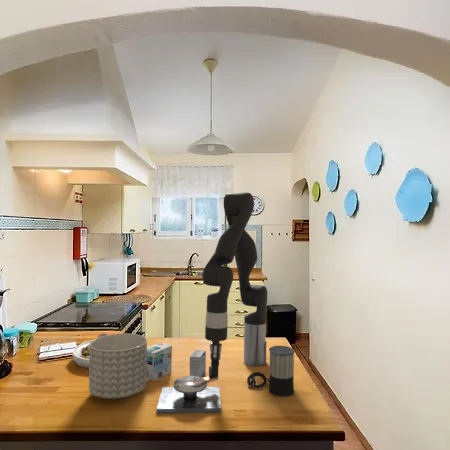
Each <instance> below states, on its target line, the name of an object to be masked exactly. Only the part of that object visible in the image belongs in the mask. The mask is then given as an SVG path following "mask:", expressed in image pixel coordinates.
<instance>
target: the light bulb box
mask: <svg viewBox="0 0 450 450" xmlns="http://www.w3.org/2000/svg"><path fill="white" fill-rule="evenodd" d="M172 354H173V347H172V345H170V344H167V343H163V342H159V343H158V342H157V343H156V344H154V345H150V346H147V380H149V381H152V382H155V381H157V380H159V379H160V378H163V377H165V376H167V375H169V374H171V373H172V365H173V364H172V362H173V360H172V359H173V358H172V357H173V355H172Z"/></svg>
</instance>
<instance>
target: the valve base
mask: <svg viewBox="0 0 450 450" xmlns="http://www.w3.org/2000/svg"><path fill="white" fill-rule="evenodd" d="M221 404H222V403H221V391H220V386H207V387H206V388H205V389H204V390H203V391H200V392H197V393H181V392H178V391H176V390H175V389H174V386H173V387H172V386H171V387H169V386H167V387H165V386H163V387H162V388H161V392H160V395H159V399H158V403H157V407H156V414H157V415H161V414H163V415H164V414H166V415H167V414H168V415H169V414H172V415H173V414H175V415H176V414H221V413H222V405H221Z"/></svg>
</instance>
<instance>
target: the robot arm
mask: <svg viewBox="0 0 450 450" xmlns="http://www.w3.org/2000/svg"><path fill="white" fill-rule="evenodd" d="M222 202H223V203H222V204H223V210H224V214H225V218H226V221H227V226H228V227H227V228H226V229H225V231H224V232H222V234H221V236H220V237H219V239H218V241H217V244H216V247H215V251H214V253H212V256H211V257H210V259H209V261H208V262H207V264H206V265H205V266H204V268H203V270H202V275H201V277H202V278H201V279H202V282H203V283H204V284H205V285H206V286H210V287H219V290H218V292H212V293H209V294H208V295H207V297H206V313H205V321H204V322H205V326H204V327H205V328H204V330H205V331H204V338H205V340H207V341H209V342H210V344H209V352H210V353H209V354H210V355H209V357H210V358H209V359H210V360H211V361H210V362H211V363H210V366H212V377H218V378H219V367H220V361H221V356H222V355H221V354H222V347H223V346H222V345H223V343H220V342H224V341H226V340H227V339H228V323H229V321H228V319H229V317H228V299H229V295H230V291H231V288H232V285H233V281H234V271H233V269H232V268H231V267H230V266H227V265H229V264H232V263H233V261H234V259H235V264H236V269H237V275H238V284H239V293H240V294H239V295H240V300H241V303H242V304H243V306H247V307H253V308H256V310H255V311H253V312H249V313H247V314H245V315H244V317H243V318H244V322H243V331H244V332H243V363H244V364H245V365H247V366H250V367H261V366H265V365H267V340H266V337H267V336H266V335H267V334H266V331H267V329H266V328H267V327H266V325H267V322H266V321H267V309H268V308H267V307H268V289H267V287H266V286H265V285H261V284H252V283H250V275H251V274H252V271H253V269H254V268H255V266H256V264H257V262H258V251H257V246H256V242H255V241H254V239H253V237H252V236H251V235H250V234H249V233H248V231H247V230H246V227H247V225H248V223H249V221H250V219H251V216H252V214H253V212H254V209H255V199H254V196H253V194H252V193H251V192H247V191H246V192H227V193H226V194H224V197H223V201H222Z"/></svg>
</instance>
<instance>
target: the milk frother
mask: <svg viewBox="0 0 450 450" xmlns="http://www.w3.org/2000/svg"><path fill="white" fill-rule="evenodd" d="M268 351H269V378H268V377H267V376H266V374H264V373H262V372H260V371H255V372H253V373H251V374H250V375H248V376H247V378H246V379H247V380H246V383H247V385H248V386H249V387H250V388H252V389H262V388H265V387H266V386H267V382H268V383H269V384H268V387H267V390H268V392H269V393H270V394H271V395H274V396H277V397H279V398H280V397H285V398H287V397H290V396H293V395H294V394H295V389H294V388H295V387H294V386H295V383H294V378H295V377H294V375H295V373H294V372H295V370H294V369H295V366H294V365H295V353H296V352H295V349H294V348H292V347H289V346H288V345H274V346H271V347H268ZM256 377H259V378H262V380H263V382H262V383H260V384H257V380H256Z"/></svg>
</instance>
